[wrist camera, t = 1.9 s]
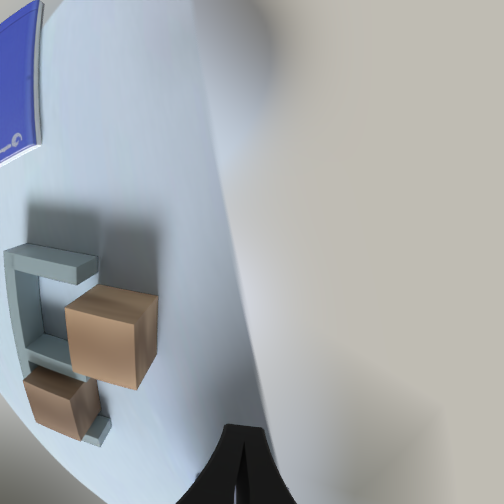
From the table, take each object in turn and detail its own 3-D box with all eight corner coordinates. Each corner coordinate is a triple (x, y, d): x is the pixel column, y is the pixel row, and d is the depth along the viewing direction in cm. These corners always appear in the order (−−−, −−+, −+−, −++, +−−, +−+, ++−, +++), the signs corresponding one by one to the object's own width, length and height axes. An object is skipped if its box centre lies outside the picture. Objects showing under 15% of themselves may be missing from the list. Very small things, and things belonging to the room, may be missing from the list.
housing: (111, 427, 20) (100, 447, 18) (51, 404, 20) (37, 421, 17) (97, 256, 17) (76, 267, 14) (26, 243, 17) (3, 251, 14)
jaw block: (157, 353, 18) (136, 390, 14) (101, 340, 18) (72, 371, 14) (158, 295, 17) (134, 324, 14) (98, 283, 17) (64, 307, 14)
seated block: (101, 408, 20) (80, 441, 16) (59, 393, 20) (36, 422, 16) (95, 368, 19) (69, 400, 15) (51, 353, 19) (22, 380, 15)
